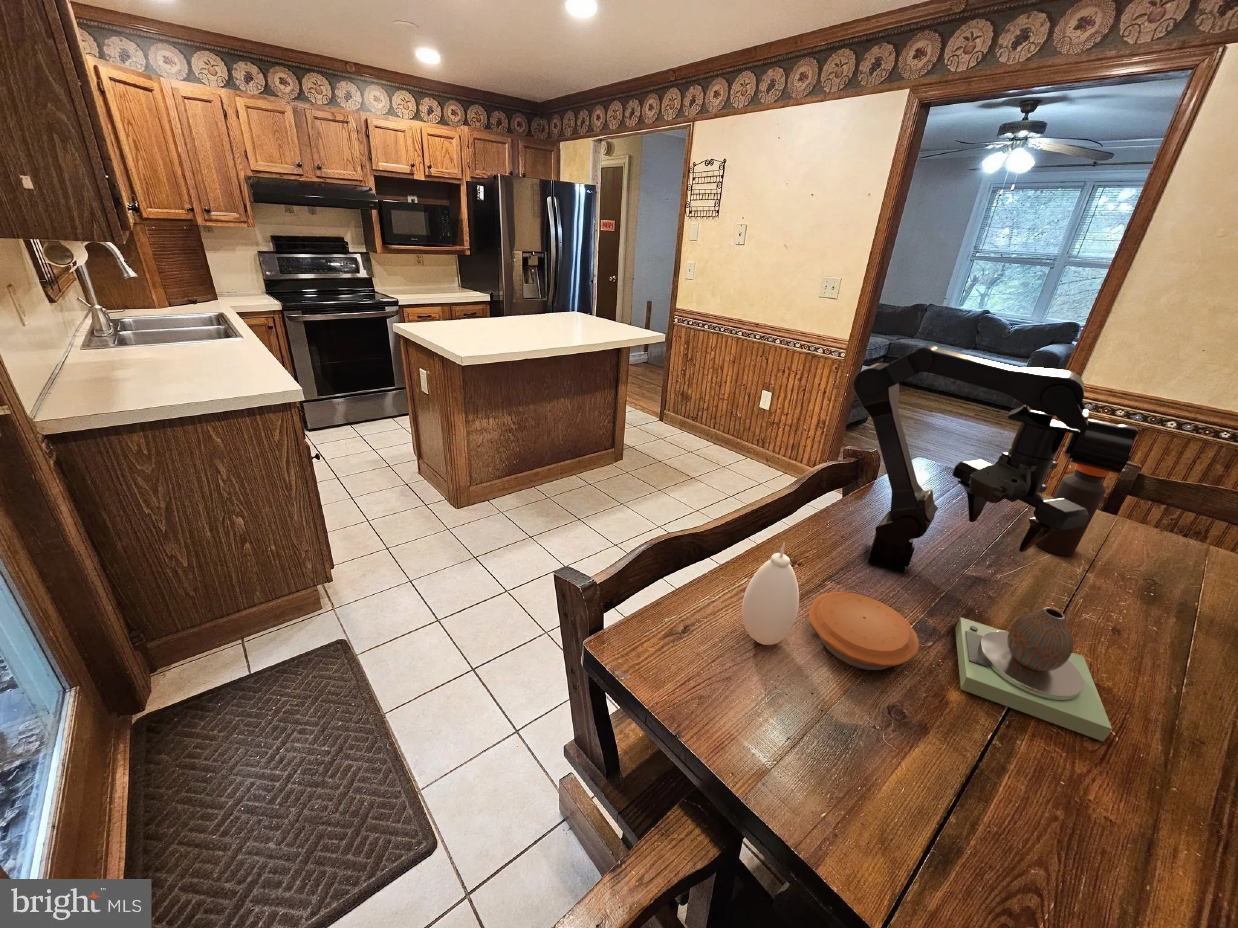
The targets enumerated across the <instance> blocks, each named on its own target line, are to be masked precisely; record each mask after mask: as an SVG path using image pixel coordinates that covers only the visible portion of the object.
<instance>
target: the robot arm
mask: <svg viewBox="0 0 1238 928" xmlns="http://www.w3.org/2000/svg"><path fill="white" fill-rule="evenodd" d="M921 373H928V374H931V375H935V376H939V377H943V378H947V379H951V380H953V381H954V380H955V381H958V382H960V383H961V382H962V383H964V384H969V385H972V386H976V387H980V388H983V389H988V390H991V391H994V392H999V393H1002V394H1004V395H1006V396H1008V397H1010V398H1012V399H1014V400H1015V401H1017V402H1018V403H1020V404H1022V406H1019V407H1018V408H1015V409H1011V410H1010V411H1009V414H1008V415H1007V419H1008V420H1010V421H1014V422H1019V424H1018V425H1019V426H1018V428H1017V429H1016V433H1015V435H1014V438H1013V440H1012V442H1011V445H1010V446H1009V450H1008V452H1001V455H999V457H998V459H997V461H996V462H995V463H994V464H991V463H990V462H987V461H985V460H983V459H980V458H979V459H972V460H971V459H970V460H962V461H960V462H958V463H957V464H955V466H954V468H953V470H952V474H951V475H952V477H953V478H956V481H957V483H958V484H959V485H960V486H961V487H963V489H964V490H965V492H966V498H967V504H968V505H967V508H968V510H967V511H968V521H969V522H970V523H975V522H976V521H977V520H978V519H979V517H980V516H981V514H982V512H983V510H984V509H985V507H986V504H987V503H989V504H998V503H1000V502H1002V501H1003V500H1007V501H1009V502H1011V503H1014V502H1017V501H1021V502H1022V503H1024V504H1027V505H1028V506H1031V507H1033V508H1034V510H1033V516H1034V517H1029V518H1028V522H1029V527H1028V529H1027V530H1026V533H1025V535H1024V537H1023V538H1022V541H1021V543H1020V545H1019V549H1018V551H1019V552H1020V553H1025V552H1027V551H1028V550H1029V549H1031V548H1033V546H1035V545H1037V544H1036V543H1037V542H1039V541H1040V540H1041V539H1043V538H1044V537H1045V536H1047V535H1048V534H1050V533H1051V532H1053V531H1055V530H1065V529H1072V528H1078V527H1084V526H1085V524H1086V522H1087V520H1088V518H1089V515H1088V512H1087V509H1085V508H1083V507H1081V506H1079V505H1077V504H1075V503H1073V502H1070V501H1068V500H1066V499H1064V498H1061V499H1054V500H1053V499H1048V498H1045V497H1044V496H1041V495H1039V494H1040V493H1045V492H1046V491H1047V489H1048V485H1046V484H1044V483H1045V480H1046V479H1047V476H1048V475H1049V472H1050V470H1055V469H1057V467H1058V465H1059V462H1058V461H1055V459H1056V457H1057V455H1058V452H1059V451H1060V448H1061V446H1062V445H1063V441H1064V439H1065V438H1066V435H1067V433H1070V436H1069V438H1068V441H1067V443H1066V444H1065V448H1064V451H1063V454H1065V455H1068V457H1067V458H1068V459H1069V462H1070V463H1073V464H1081V465H1085V466H1089V467H1093V468H1097V469H1101V470H1105V471H1109V473H1114V474H1117V475H1119V474H1121V473H1122V472H1123V470H1124V469H1125V467H1126V465H1127V464H1128V463H1129V460H1130V458H1131V451H1132V449H1133V446H1134V444H1135V440H1136V438H1137V435H1138V434H1139V430H1138V428H1137V426H1132V425H1129V424H1128V425H1126V424H1116V423H1111V422H1107V421H1101V420H1096V419H1092V418H1090V415H1089V409H1087V408H1086V406H1085V404H1084V402H1083V401H1084V398H1085V383H1084V380H1083V379H1082V377H1081V376H1080V375H1079V374H1077V373H1076V372H1074V371H1072V370H1067V369H1057V368H1044V367H1018V366H1013V365H1009V364H1004V363H1000V362H997V361H993V360H989V359H983V358H981V357H976V356H973V355H967V354H963V353H961V352H955V351H952V350H948V349H943V348H939V347H937V346H936V345H933V344H923V345H921V346H920V347H918V348H916V349H915V350H913V351H911V352H910V353H908V354H905V355H904V356H902V357H900V358H898V359H896V360H893V361H891V362H889V363H885V362H877V363H874V364H872V365H870V366H868V367H867V368H864V369H863V370H861V371H859V372H858V374H857V375H856V376H855V378H854V380H853V383H852V385H853V391H854V393H855V395H856V397H857V399H858V401H859V403H860V405H861V407H862V408H863V409H864V411H865V412H866V413H867V414H868V415H869V417H870V419H871V421H872V424H873V427H874V431H875V435H876V439H877V442H878V446H879V450H880V453H881V457H882V461H883V464H884V468H885V471H886V475H887V478H888V482H889V486H890V489H891V490H890V491H891V497H890V498H891V499H890V510H888V511H887V513H885V515H884V516H883V517H882V519H881V520H880V521H879V523H878V524H877V525H876V527H875V530H874V531H875V534H874V537H873V540H872V543H871V545H870V546H869V549H868V556H867V563H868V564H869V565H873V566H877V567H879V568H884V569H886V570H891V571H893V572H896V573H899V574H905V573H906V568H908V567H909V566H910V563H911V561H912V558H913V555H914V552H915V542H914V540H915V539H920V538H921V537H923V536H924V535H925V534H926V533H927V532H928V530H929V528H930V526H931V524H932V523H933V521H934V519H935V517H936V514H937V511H938V510H939V507H938V506H937V504H936V503H935V500H934V491H933V489H927V490H924V489H923V487H922V486H921V485H920V484H919V482H918V480H917V476H916V472H915V468H914V464H913V461H912V457H911V454H910V453H911V452H910V450H909V446H908V442H907V440H906V434H905V431H904V427H903V424H902V420H901V417H900V413H899V401H900V383H902V382H904V381H906V380H908V379H910V378H912V377H914V376H917V375H918V374H921ZM1053 417H1056V418H1057V419H1058V420H1056V419H1053Z"/></svg>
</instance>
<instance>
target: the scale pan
mask: <svg viewBox="0 0 1238 928" xmlns="http://www.w3.org/2000/svg"><path fill="white" fill-rule="evenodd" d="M1008 633H1009V630H1002V631H992V632H989V633H987V634H985V635H984V636H983V637H982V639H981V641H980V644H979V649H980V653H981V655H982V657H983V658H984V660H985V661H986V663H987V664H988V665H989V666H990V667H991V668H992V669H993V670H994V671H995V672H996V673H997V674H999V675H1000V676H1001V677H1003V678H1004V679H1005V680H1007V681H1008V682H1010V683H1012V684H1013V685H1015V686H1017V687H1019V688H1021V689H1023V690H1025V691H1027V692H1030V693H1032V694H1035V695H1038V696H1041V697H1044V698H1048V699H1054V700H1068V699H1072V698H1075V697H1076V696H1078V695H1079V693H1080V692H1081V690H1082V688H1083V680H1082V677H1081V675H1080V673H1079V672H1078V670H1077V669H1076V668H1075V666H1074V665H1073V664H1072V663H1071V662H1070V661H1069V660H1067V661H1066V663H1065V664H1063V665H1062V666H1061V667H1059V668H1057V669H1055V670H1052V671H1035V670H1032V669H1029V668H1027V667H1025V666H1023V665H1022V664H1020V663H1019V662H1018V661H1017V660H1016V659H1015V658H1014V657H1013V655H1012V654H1011V652H1010V650H1009V648H1008V642H1007V638H1008Z"/></svg>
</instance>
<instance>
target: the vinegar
mask: <svg viewBox="0 0 1238 928" xmlns="http://www.w3.org/2000/svg"><path fill="white" fill-rule="evenodd" d="M1073 470H1074V473H1072V474H1070V475H1067V476H1065V477H1063V478H1062V480H1061V482H1060V484H1059V485H1058V488H1057V490H1056V492H1055V494H1054V496H1053V498H1052V500H1054V499H1061V498H1064V499H1066V500H1068V501H1070V502H1073V503H1075V504H1077V505H1079V506H1081V507H1083V508H1085V509H1087V512H1088V515H1089V518H1088V520H1087V522H1086V524H1085V526H1084V527H1078V528H1072V529H1065V530H1055V531H1053V532H1051V533H1050V534H1048V535H1047V536H1045V537H1044V538H1043V539H1041V540H1040V541H1039V542H1037V543H1036V544H1035V545H1036V546H1038V547H1039V548H1040V549H1042V550H1043V551H1045V552H1048V553H1050V554H1054V555H1057V556H1063V557H1067V556H1068V557H1069V556H1072V555H1074V554H1075V552H1076V550H1077V549H1078V546H1079V545H1080V542H1081V540H1082V538H1083V537H1084V534H1085V533H1086V531H1087V529H1088V527H1089V525H1090V523H1091V521H1092V520H1093V517H1094V516H1095V514H1096V512H1097V510H1098V508H1099V506H1100V504H1101V502H1102V500H1103V499H1104V496H1105V495H1106V492H1107V488H1106V486H1105V485H1104V483H1103V482H1102V481H1103V480H1105V479H1106V478H1107V476H1108V475H1109V473H1110V472H1109V471H1105V470H1101V469H1097V468H1093V467H1089V466H1085V465H1081V464H1077V463H1075V466H1074V469H1073Z"/></svg>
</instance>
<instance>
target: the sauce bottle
mask: <svg viewBox="0 0 1238 928" xmlns="http://www.w3.org/2000/svg"><path fill="white" fill-rule="evenodd" d="M785 547H786V542H785V541H783V543H782V545H781V548H780V552H776V553H773V554H772V555H771V556H770V559H768V560H766V562H764V563H763V564H762V565H761V566H760V567H759V568H758V569H757V570H756V572H755V573H754V574H753V576H752V578H751V579H750V581H749V583H748V585H747V586H746V588H745V591H744V595H743V598H742V603H741V619H742V623H743V624H742V625H743V627H744V629H745V630H746V633H747V635H749V637H750V638H751V639H753V640H754V641H755V642H757V643H758V644H762V645H763V646H765V645H766V646H772V645H776V644H778V643H779V642H782V640H784V639H785V638H786V637H787V635H788V634H789V633H790V632H791V630H792V629H793V627H794V625H795V623H796V620H797V616H798V614H799V606H800V590H799V583H798V580H797V575H796V573H795V570H794V569H793V567H792V565H791V559H790V558H789V556H787V555H786V554H785Z"/></svg>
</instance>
